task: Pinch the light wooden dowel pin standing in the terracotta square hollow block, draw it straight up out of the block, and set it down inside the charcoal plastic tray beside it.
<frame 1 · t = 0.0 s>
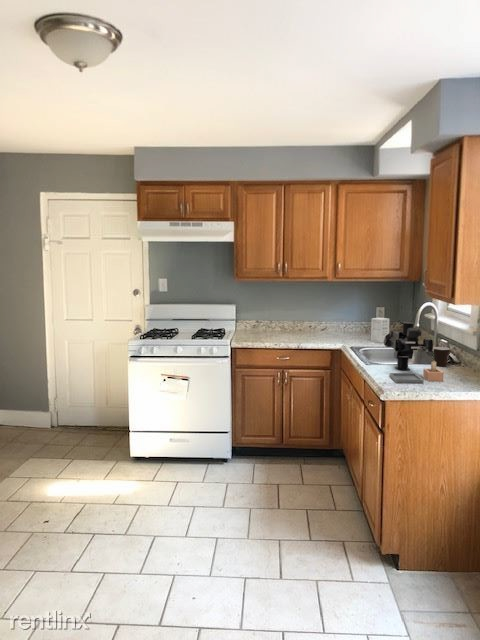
hand: (418, 348, 243), 17 cm above the worktop, tool horizontal, fingers open, 9 cm apart
supplement box: (379, 341, 355), on the worktop
charcoal tray: (405, 380, 247), on the worktop
coffee mug: (442, 365, 279), on the worktop
dowel pin: (433, 370, 247), in the terracotta square hollow block
terracotta square hollow block: (432, 379, 248), on the worktop
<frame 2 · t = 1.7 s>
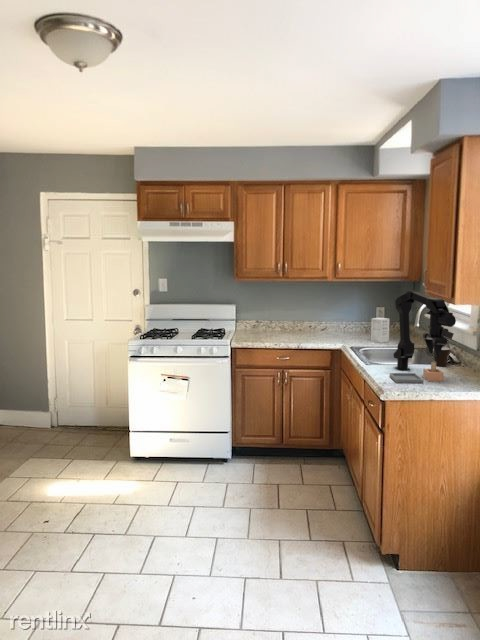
hand: (434, 355, 246), 13 cm above the worktop, tool pointing down, fingers open, 9 cm apart
nothing on the worktop moved.
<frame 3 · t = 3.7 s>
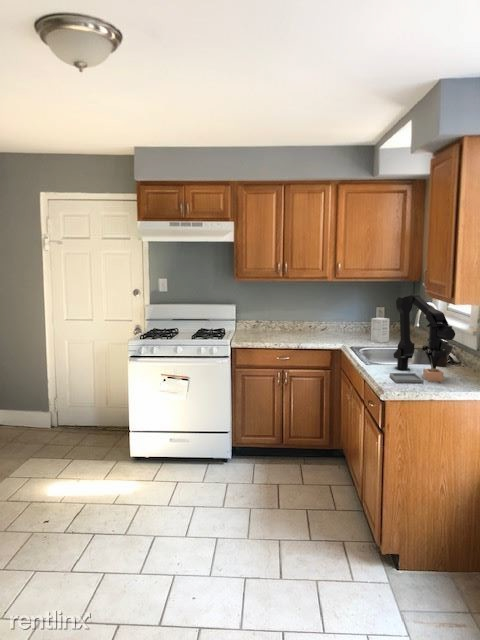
hand: (433, 367, 247), 6 cm above the worktop, tool pointing down, fingers closed on dowel pin, 2 cm apart
dowel pin: (433, 370, 247), in the terracotta square hollow block, touching gripper
everything else where it was.
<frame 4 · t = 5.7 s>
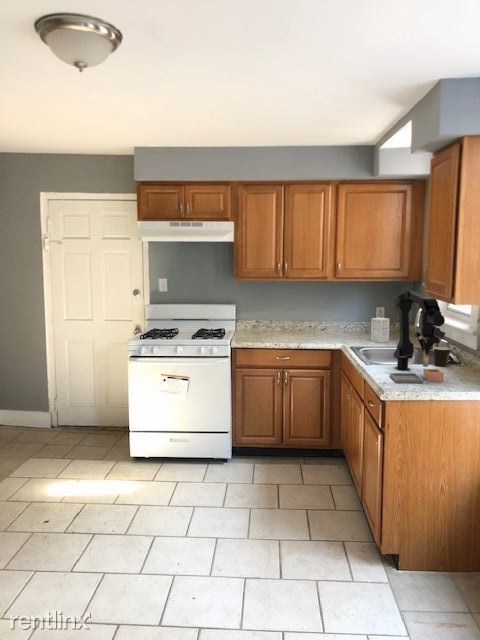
hand: (425, 354, 246), 13 cm above the worktop, tool pointing down, fingers closed on dowel pin, 2 cm apart
dowel pin: (425, 357, 246), point 11 cm above the worktop, touching gripper
everything else where it was.
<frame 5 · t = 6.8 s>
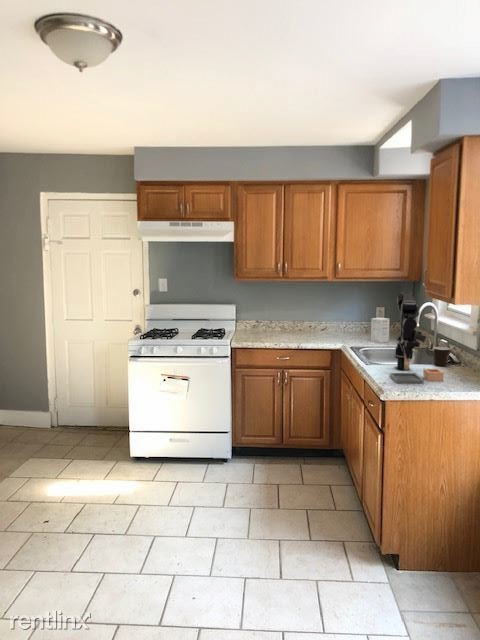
hand: (406, 358, 245), 11 cm above the worktop, tool pointing down, fingers closed on dowel pin, 2 cm apart
dowel pin: (406, 361, 245), point 10 cm above the worktop, touching gripper
everything else where it was.
when the fingers open (8 cm above the worktop, at t = 7.8 s): dowel pin drops 1 cm, resting on charcoal tray.
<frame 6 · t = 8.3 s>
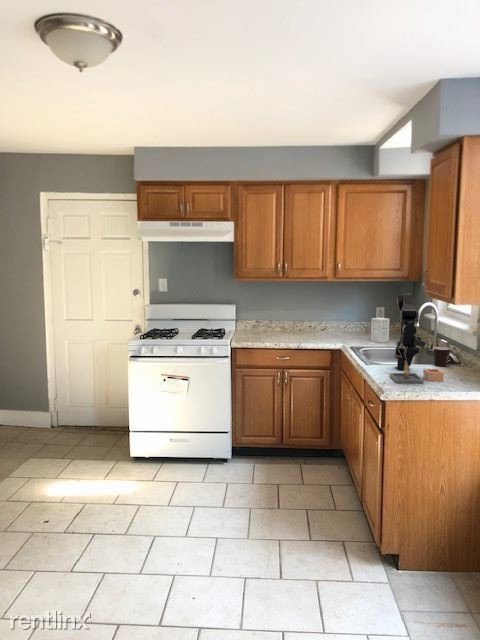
hand: (406, 363, 246), 8 cm above the worktop, tool pointing down, fingers open, 8 cm apart
dowel pin: (406, 369, 246), in the charcoal tray, point 5 cm above the worktop
everything else where it was.
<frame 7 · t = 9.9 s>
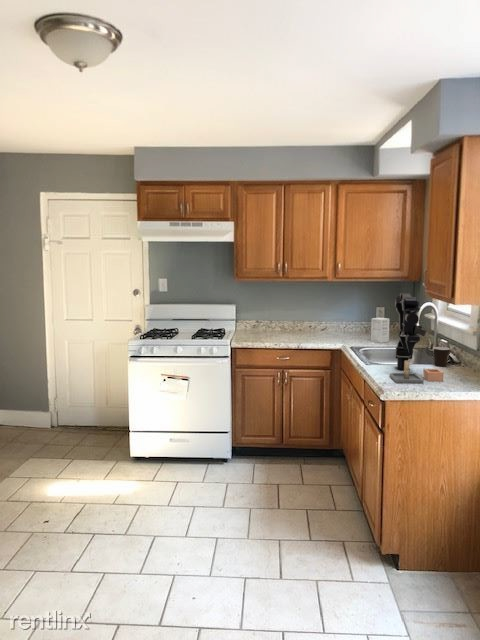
hand: (407, 351, 253), 13 cm above the worktop, tool pointing down, fingers open, 9 cm apart
nothing on the worktop moved.
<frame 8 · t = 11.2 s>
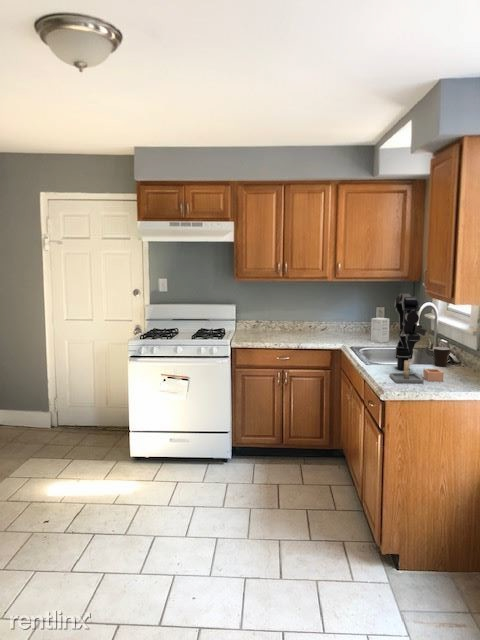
hand: (407, 351, 254), 13 cm above the worktop, tool pointing down, fingers open, 9 cm apart
nothing on the worktop moved.
at the end: dowel pin inside the target area on the charcoal tray (0.0 cm from its centre), point 5.3 cm above the charcoal tray's base; the gripper is holding nothing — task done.
